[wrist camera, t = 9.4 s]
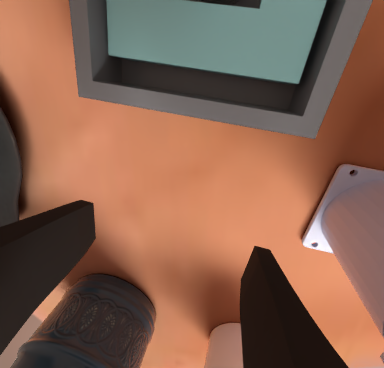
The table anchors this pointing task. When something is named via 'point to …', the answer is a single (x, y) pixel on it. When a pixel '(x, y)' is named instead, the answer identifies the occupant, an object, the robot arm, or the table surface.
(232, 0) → the peg
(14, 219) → the casserole
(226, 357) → the candle holder
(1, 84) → the table surface
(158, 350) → the table surface
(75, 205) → the robot arm
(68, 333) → the canister
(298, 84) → the tray
